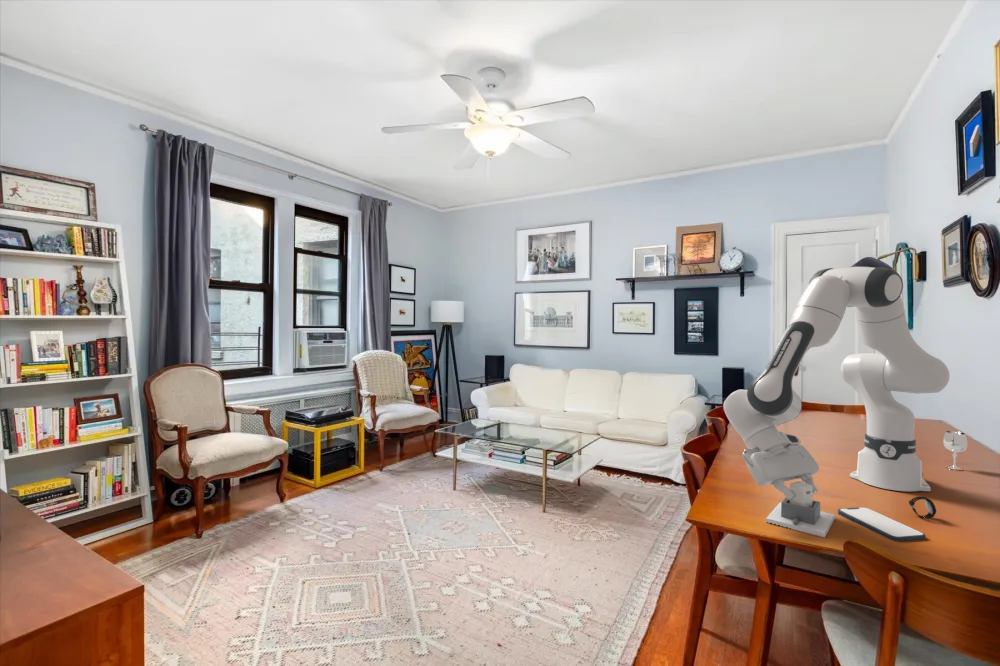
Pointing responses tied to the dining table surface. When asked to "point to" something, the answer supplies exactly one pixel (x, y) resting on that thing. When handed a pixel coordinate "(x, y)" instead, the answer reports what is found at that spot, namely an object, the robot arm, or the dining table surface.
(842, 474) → the dining table surface
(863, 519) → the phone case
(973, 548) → the dining table surface
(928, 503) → the smartwatch
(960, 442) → the wineglass
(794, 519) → the dock
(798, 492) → the block
